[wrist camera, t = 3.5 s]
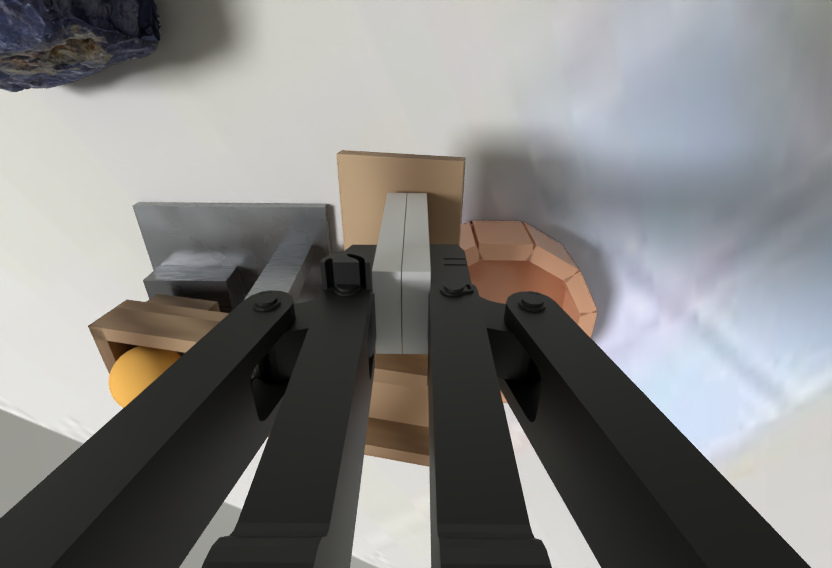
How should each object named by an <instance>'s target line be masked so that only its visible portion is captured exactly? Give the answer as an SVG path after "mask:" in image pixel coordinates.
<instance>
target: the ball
mask: <svg viewBox="0 0 832 568" xmlns="http://www.w3.org/2000/svg"><path fill="white" fill-rule="evenodd" d="M180 357H181V356H180V355H179V354H178V353H177V352H176V351H171V350H165V349H158V348H152V347H145V346H138V347H135V348H133V349H131V350H129V351H127V352H126V353H124V354H123V355H122V356H121V357H120V358H119V359H118V360H117V361H116V362H115V364H114V365H113V367H112V369H111V372H110V375H109V389H110V392H111V395H112V396H113V398H114V400H115V401H116V402H117V403H118V404H119V405H120V406H122V407H123V408H124V407H125V406H127V405H128V404H129V403H130V402H131V401H132V400H133V399H134V398H135V397H137V396H138V395H139V394H140V393H141V392H142V391H143V390H144V389H145V388H147V387H148V386H149V385H150V384H151V383H152V382H153V381H154V380H156V379H157V378H158V377H159V376H160V375H161V374H162V373H163V372H164V371H166V370H167V369H168V368H169V367H170V366H171V365H172V364H173V363H175V362H176V361H177V360H178V359H179V358H180Z"/></svg>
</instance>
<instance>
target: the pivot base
mask: <svg viewBox="0 0 832 568" xmlns="http://www.w3.org/2000/svg"><path fill="white" fill-rule="evenodd" d="M133 209H134V212H135V215H136V218H137V221H138V224H139V227H140V230H141V233H142V236H143V239H144V242H145V245H146V248H147V251H148V254H149V257H150V260H151V264H152V267H153V270H154V271H153V272H152V273H151V274H150V275H149V276H147V277H146V278H145V279H144V280H143V282H144V285H145V288H146V290H147V293H148V296H149V299H151V298H152V297H154V296H155V295H156V294H162V295H170V296H178V297H185V298H193V299H201V300H209V301H216V302H218V305H219V309H220V312H223V313H230V312H231V311H233V310H234V309H235V308H236V307H237V306H238V305H239V304H240V303H242V302H243V301H244V300H245V299H247V298H248V297H250V296H251V295H254V294H257V293H259V292H262V291H268V290H273V291H283V292H286V293H288V294H290V295H291V296H292V298H293V303H294V304H296V303H302V302H308V301H312V300H315V299H318V298H320V296H321V293H322V290H323V286H322V277H321V268H320V261H321V260H322V259H323V258H325V257H326V256H328V255H331V246H330V236H329V225H328V215H327V205H326V204H267V203H136V204H135V205H133Z"/></svg>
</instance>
